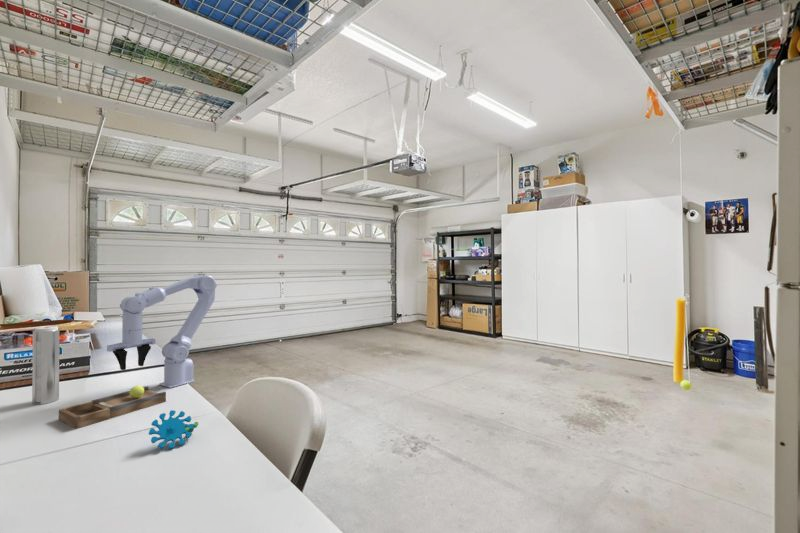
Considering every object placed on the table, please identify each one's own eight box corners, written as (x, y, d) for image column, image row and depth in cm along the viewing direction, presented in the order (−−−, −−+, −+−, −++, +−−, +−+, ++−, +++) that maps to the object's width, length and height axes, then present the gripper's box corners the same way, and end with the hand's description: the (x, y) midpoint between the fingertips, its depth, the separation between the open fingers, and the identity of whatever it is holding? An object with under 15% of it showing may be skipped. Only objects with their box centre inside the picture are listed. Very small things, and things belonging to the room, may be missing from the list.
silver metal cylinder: (27, 403, 121) (28, 328, 121) (52, 396, 127) (53, 325, 127) (38, 405, 118) (39, 329, 118) (63, 399, 124) (63, 326, 124)
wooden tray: (146, 395, 129) (146, 386, 129) (165, 401, 123) (165, 391, 123) (58, 419, 108) (58, 409, 108) (76, 428, 102) (76, 417, 102)
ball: (140, 394, 123) (140, 383, 123) (146, 397, 121) (146, 385, 121) (126, 398, 120) (127, 386, 120) (133, 400, 118) (133, 388, 118)
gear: (148, 450, 87) (150, 410, 94) (144, 460, 90) (146, 421, 96) (199, 442, 94) (198, 406, 100) (193, 453, 97) (193, 417, 103)
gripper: (148, 326, 138) (148, 361, 138) (102, 331, 126) (102, 371, 126) (158, 327, 135) (158, 364, 135) (112, 333, 122) (112, 374, 122)
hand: (132, 367), depth 130 cm, fingers open, 5 cm apart
